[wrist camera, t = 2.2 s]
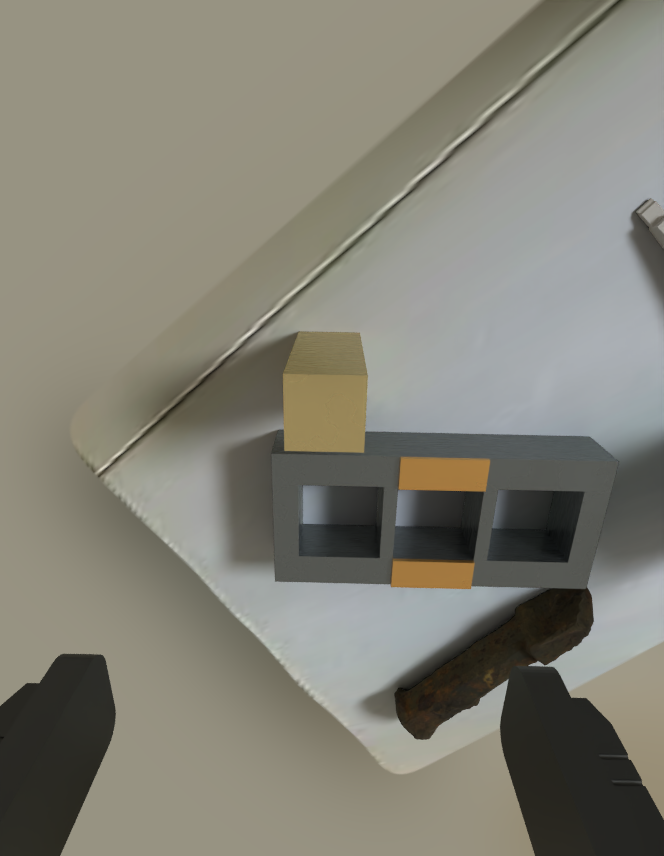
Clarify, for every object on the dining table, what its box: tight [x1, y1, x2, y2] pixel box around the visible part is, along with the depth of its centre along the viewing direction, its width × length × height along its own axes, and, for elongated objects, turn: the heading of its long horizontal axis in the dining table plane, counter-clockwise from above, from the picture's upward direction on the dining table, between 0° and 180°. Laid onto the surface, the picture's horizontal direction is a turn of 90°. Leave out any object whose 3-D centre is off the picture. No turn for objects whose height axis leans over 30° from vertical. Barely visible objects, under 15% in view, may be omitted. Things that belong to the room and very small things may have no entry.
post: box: [283, 331, 368, 453], centre depth 29 cm, size 4×4×10 cm
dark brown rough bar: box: [395, 587, 594, 740], centre depth 41 cm, size 19×4×5 cm, turn 134°
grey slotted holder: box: [271, 430, 619, 589], centre depth 35 cm, size 10×22×4 cm, turn 89°
